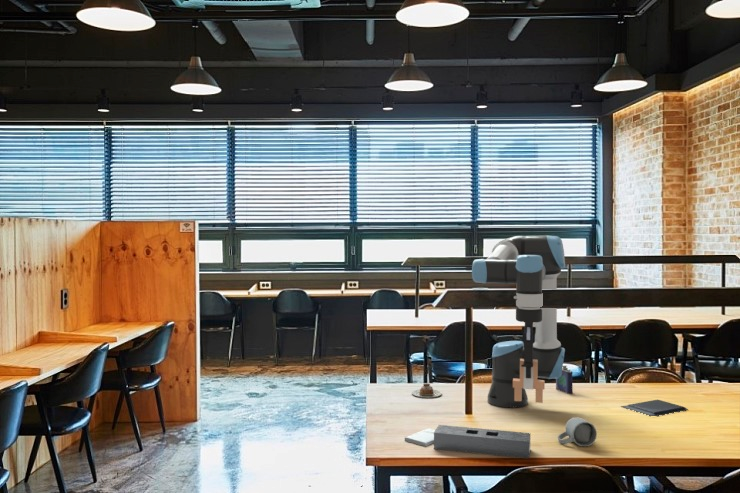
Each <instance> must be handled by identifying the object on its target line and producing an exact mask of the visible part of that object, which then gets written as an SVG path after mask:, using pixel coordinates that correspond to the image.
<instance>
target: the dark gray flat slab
mask: <svg viewBox="0 0 740 493" xmlns="http://www.w3.org/2000/svg"><path fill="white" fill-rule="evenodd" d="M620 408H623V409H626V410H628V409H630V410H629V411H632V410H634V411H633V412H635V411H636V412H635V413H638V412H640V413H639V414H641V413H643V414H642V415H644V414H646V415H645V416H647V415H649V416H648V417H651V416H657V417H660V416H659V415H662V416H666V415H665V414H667V415H670V414H669V413H672V414H675V413H674V412H678V413H681V412H680V411H683V412H687V411H686V410H688V411H689V409H688V408H687V407H685V406H681V405H679V404H675V403H671V402H668V401H665V400H661V399H654V400H652V399H651V400H647V401H641V402H636V403H630V404H629V403H628V404H626V405H622V406H620Z"/></svg>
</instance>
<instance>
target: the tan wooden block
mask: <svg viewBox="0 0 740 493" xmlns="http://www.w3.org/2000/svg"><path fill="white" fill-rule="evenodd" d="M523 363H524V359H520V379H516V378H513V388H514V401H522V388H524V367H521V365H523ZM545 385H546V383H545V380H544V379H538V360H535V359H533V389H532V390H535V403H538V404H539V403H540V404H543V401H544V400H543V399H544V398H543V397H544V396H543V395H544V394H543V392H544V390H545Z"/></svg>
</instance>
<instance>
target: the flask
mask: <svg viewBox="0 0 740 493" xmlns="http://www.w3.org/2000/svg"><path fill="white" fill-rule="evenodd" d="M555 390H557V391H560V392H563V393H565V394H568V395H573V394H574V393H573V371H571V369H568V364H566V365H563V367H562V374H561V377H560V378H558V379H555Z"/></svg>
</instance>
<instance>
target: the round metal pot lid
mask: <svg viewBox="0 0 740 493" xmlns="http://www.w3.org/2000/svg"><path fill="white" fill-rule="evenodd" d="M411 394H412V395H413V396H415V397H418V398H422V399H430V398H432V399H434V398H438V397H440V396H441V395H442V391H440V390H437V389H434V388H433V386H431V384H430V383H423V384H422V386H421V388H420V389H416V390H413V391H412V392H411ZM418 394H419V395H418ZM435 394H436V395H435Z"/></svg>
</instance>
